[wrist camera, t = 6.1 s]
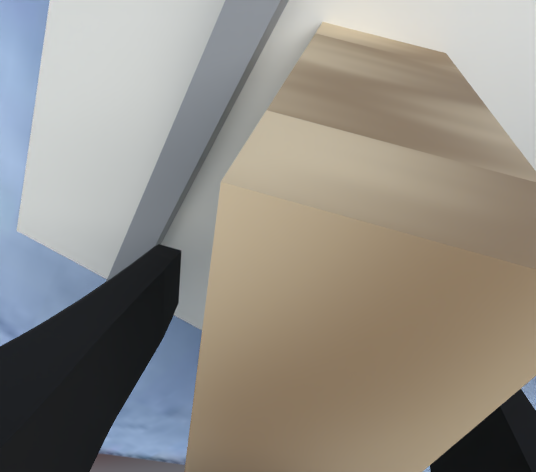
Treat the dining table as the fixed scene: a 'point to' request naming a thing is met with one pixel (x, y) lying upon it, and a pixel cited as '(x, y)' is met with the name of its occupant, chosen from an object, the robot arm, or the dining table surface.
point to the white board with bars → (212, 109)
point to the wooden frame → (365, 269)
